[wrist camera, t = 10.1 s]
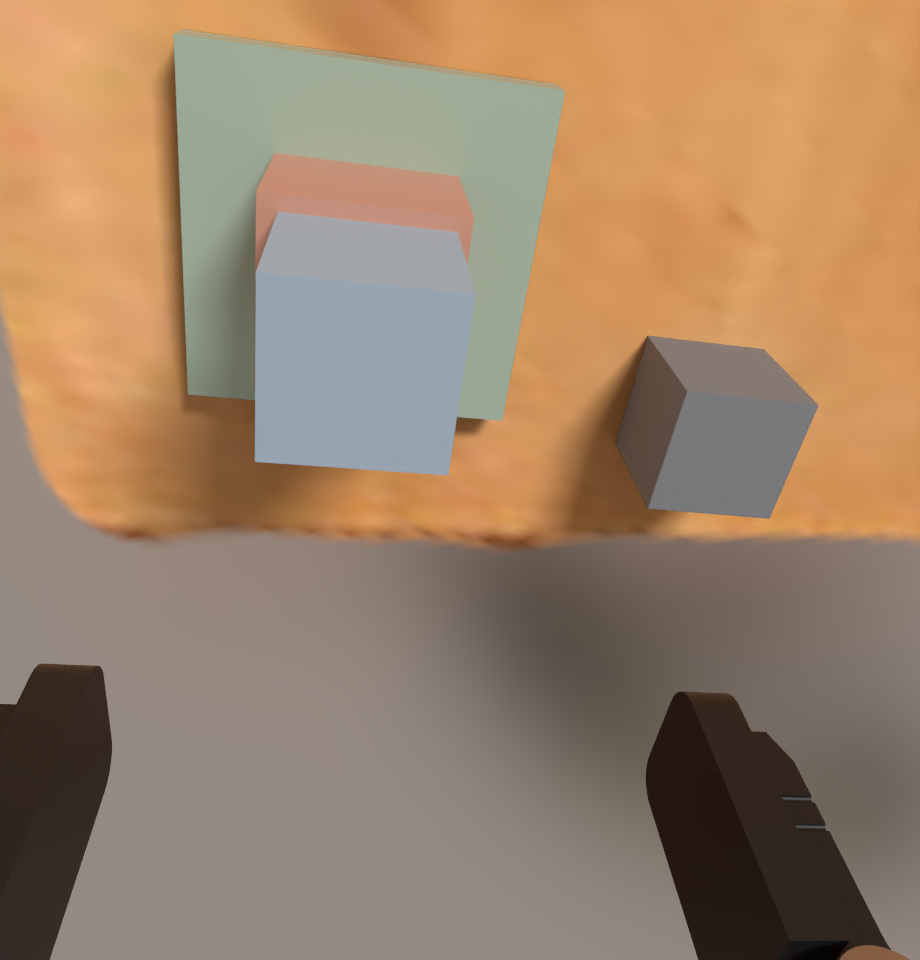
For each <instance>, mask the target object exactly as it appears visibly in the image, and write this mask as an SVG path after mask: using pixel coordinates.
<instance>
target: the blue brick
mask: <svg viewBox="0 0 920 960" xmlns="http://www.w3.org/2000/svg"><path fill="white" fill-rule="evenodd" d="M475 297H476V293H475V290H474V286H473V283H472V279H471V276H470V273H469V269H468V266H467V262H466V259H465V256H464V252H463V249H462V245H461V242H460V239H459V235H458V232H452V231H443V230H434V229H426V228H417V227H408V226H399V225H391V224H382V223H373V222H364V221H355V220H347V219H338V218H329V217H320V216H312V215H303V214H294V213H285V212H277V215H276V218H275V220H274V223H273V226H272V229H271V231H270V234H269V237H268V240H267V242H266V245H265V248H264V251H263V253H262V256H261V259H260V262H259V264H258V267H257V270H256V328H255V462H264V463H278V464H293V465H307V466H322V467H336V468H350V469H365V470H379V471H394V472H408V473H422V474H437V475H448V473H449V467H450V460H451V454H452V447H453V441H454V434H455V428H456V421H457V415H458V408H459V402H460V395H461V388H462V382H463V375H464V369H465V362H466V356H467V349H468V343H469V336H470V330H471V323H472V317H473V310H474V304H475Z"/></svg>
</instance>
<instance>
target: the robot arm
mask: <svg viewBox="0 0 920 960" xmlns="http://www.w3.org/2000/svg"><path fill="white" fill-rule="evenodd" d="M111 755H112V739H111V731H110V724H109V716H108V707H107V699H106V691H105V683H104V675H103V671H102V669H101V667H100V666H86V665H61V664H39V665H38V666H37V667H36V668H35V669H34V670H33V672H32V674H31V675H30V677H29V679H28V682H27V684H26V686H25V688H24V690H23V692H22V694H21V696H20V698H19V700H18V702H17V704H16V705H11V704H0V960H50V956H51V954H52V951H53V947H54V944H55V941H56V938H57V935H58V932H59V929H60V926H61V923H62V920H63V917H64V914H65V911H66V908H67V905H68V902H69V899H70V896H71V893H72V889H73V886H74V883H75V880H76V877H77V874H78V871H79V868H80V865H81V862H82V859H83V856H84V853H85V850H86V847H87V844H88V841H89V838H90V834H91V831H92V828H93V825H94V822H95V819H96V816H97V813H98V810H99V807H100V804H101V801H102V798H103V795H104V792H105V788H106V785H107V781H108V776H109V771H110V764H111ZM646 788H647V795H648V800H649V804H650V807H651V810H652V813H653V816H654V820H655V823H656V826H657V829H658V832H659V836H660V839H661V842H662V845H663V848H664V851H665V855H666V858H667V861H668V864H669V868H670V870H671V874H672V877H673V880H674V883H675V887H676V890H677V893H678V896H679V899H680V903H681V906H682V909H683V912H684V915H685V919H686V921H687V925H688V928H689V931H690V934H691V938H692V941H693V944H694V947H695V950H696V954H697V957H698V960H909V959H907V958H906V957H905V956H903V955H900V954H899V953H897V952H895V951H892V950H891V949H890V948H889V946H888V945H887V943H886V942H885V940H884V938H883V936H882V934H881V932H880V931H879V928H878V926H877V924H876V923H875V921H874V919H873V917H872V915H871V913H870V911H869V909H868V907H867V905H866V903H865V901H864V899H863V897H862V895H861V893H860V892H859V889H858V888H857V885H856V883H855V881H854V879H853V877H852V875H851V874H850V872H849V869H848V867H847V866H846V864H845V861H844V860H843V858H842V856H841V854H840V852H839V850H838V848H837V846H836V844H835V842H834V840H833V838H832V836H831V834H830V832H829V831H826V829H825V822H824V820H823V818H822V816H821V814H820V812H819V810H818V808H817V807H816V804H815V803H812V802H811V794H810V793H809V791H808V788H807V787H806V785H805V783H804V781H803V779H802V777H801V775H800V773H799V771H798V769H797V767H796V765H795V763H794V761H793V760H792V759H791V758H790V757H789V756H788V755H787V754H786V753H785V752H784V751H783V750H782V749H781V748H780V747H779V746H778V744H777V743H776V742H775V741H774V740H773V739H772V738H771V737H770V736H769V735H768V734H767V733H766V732H751V730H750V728H749V726H748V724H747V722H746V719H745V717H744V715H743V713H742V711H741V709H740V707H739V705H738V703H737V701H736V700H735V698H734V697H733V696H731V695H730V694H725V693H701V692H700V693H699V692H678V693H676V694H675V695H674V697H673V699H672V701H671V703H670V705H669V708H668V711H667V713H666V715H665V718H664V721H663V723H662V725H661V728H660V730H659V733H658V736H657V738H656V741H655V743H654V745H653V748H652V750H651V753H650V756H649V759H648V762H647V769H646Z"/></svg>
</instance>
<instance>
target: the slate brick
mask: <svg viewBox="0 0 920 960" xmlns="http://www.w3.org/2000/svg"><path fill="white" fill-rule="evenodd" d="M817 408H818V404H817V403H816V402H815V401H814V400H813V399H812V398H811V397H810V396H809V395H808V394H807V393H806V392H805V391H804V390H803V389H802V388H801V387H800V386H799V385H798V384H797V383H796V382H795V381H794V380H793V379H792V378H791V377H790V376H789V375H788V374H787V372H786V371H785V370H784V369H783V368H782V367H781V366H780V365H779V364H778V363H777V362H776V361H775V360H774V359H773V358H772V357H771V356H770V355H769V354H768V353H767V352H766V351H765V350H764V349H756V348H748V347H739V346H731V345H722V344H714V343H705V342H697V341H688V340H680V339H671V338H663V337H654V336H648V337H647V340H646V343H645V347H644V350H643V353H642V357H641V360H640V364H639V367H638V370H637V374H636V377H635V380H634V384H633V387H632V390H631V394H630V397H629V401H628V404H627V407H626V411H625V414H624V417H623V421H622V424H621V427H620V431H619V434H618V437H617V441H616V445H617V447H618V449H619V451H620V453H621V455H622V457H623V459H624V461H625V463H626V465H627V467H628V469H629V471H630V473H631V475H632V478H633V480H634V482H635V484H636V486H637V488H638V490H639V492H640V494H641V496H642V498H643V500H644V502H645V504H646V506H647V508H648V509H658V510H670V511H682V512H694V513H707V514H719V515H731V516H743V517H755V518H768V519H769V518H770V516H771V514H772V511H773V509H774V507H775V504H776V502H777V500H778V497H779V495H780V493H781V491H782V488H783V486H784V484H785V481H786V479H787V477H788V474H789V472H790V470H791V468H792V465H793V463H794V461H795V458H796V456H797V454H798V451H799V449H800V447H801V444H802V442H803V440H804V438H805V435H806V433H807V431H808V428H809V426H810V424H811V421H812V419H813V417H814V415H815V412H816V410H817Z"/></svg>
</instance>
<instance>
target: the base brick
mask: <svg viewBox="0 0 920 960" xmlns="http://www.w3.org/2000/svg"><path fill="white" fill-rule="evenodd" d="M277 212H285V213H294V214H303V215H312V216H320V217H329V218H338V219H347V220H355V221H364V222H373V223H382V224H391V225H399V226H408V227H417V228H426V229H434V230H443V231H452V232H458V235H459V239H460V242H461V245H462V249H463V252H464V256H465V259H466V262H467V264H468V257H469V251H470V244H471V237H472V230H473V224H474V215H473V213H472V210H471V207H470V205H469V202H468V199H467V197H466V194H465V191H464V189H463V186H462V183H461V180H460V178H459V176H453V175H445V174H437V173H429V172H421V171H413V170H406V169H398V168H390V167H382V166H374V165H366V164H359V163H351V162H343V161H335V160H327V159H319V158H312V157H304V156H296V155H288V154H280V153H274V155H273V157H272V159H271V162H270V164H269V166H268V168H267V170H266V172H265V174H264V176H263V178H262V180H261V182H260V184H259V186H258V188H257V191H256V253H255V328H256V270H257V267H258V264H259V262H260V259H261V256H262V253H263V251H264V248H265V245H266V242H267V240H268V237H269V234H270V231H271V229H272V226H273V223H274V220H275V218H276V215H277ZM254 390H255V373H254Z"/></svg>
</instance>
